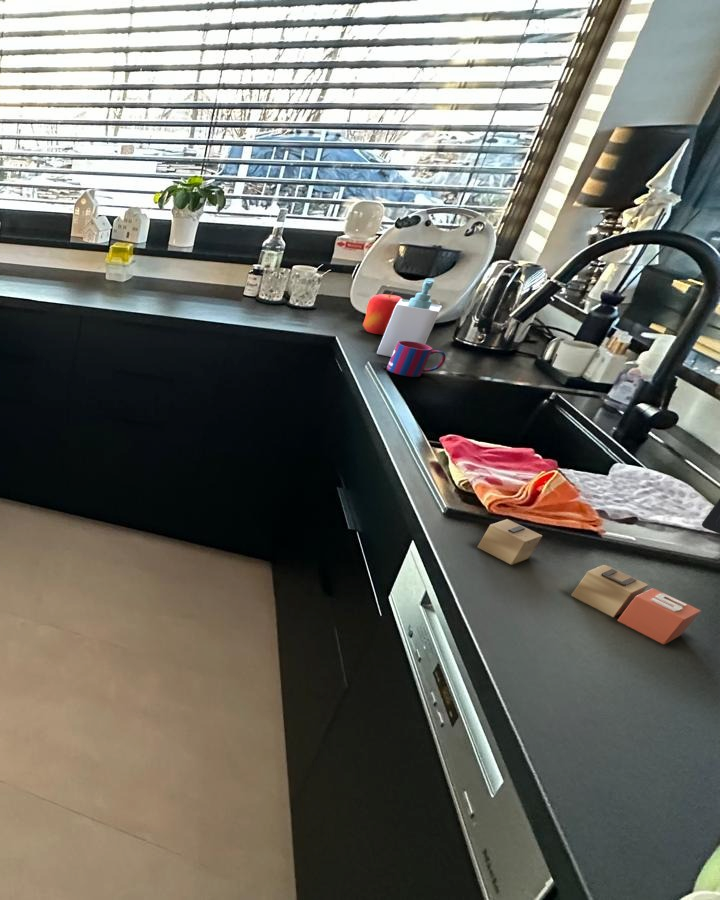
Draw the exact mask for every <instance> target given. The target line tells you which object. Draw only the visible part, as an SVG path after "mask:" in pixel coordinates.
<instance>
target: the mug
mask: <svg viewBox="0 0 720 900" xmlns="http://www.w3.org/2000/svg"><path fill="white" fill-rule="evenodd" d="M438 353H439V354H441V360H440V362H439V363H438V364H437V365H436V366H433V367H431V368H425V367H426V364H427V362H428V360H429V358H430V356H431V355H433V354H438ZM446 357H447V356H446V353H445V352H444V351H442V350H438V349H433V347H432V346H430V345H428V344H426V343H425V344H422V343H417V342H412V341H398V342H397V345H396V347H395V349H394V352H393V354H392V357H390V359H389V361H388V364H387V366H386V370H387V371H388V372H390V373H393V374H396V375H399V376H404V377H409V378H418V377H419V378H420V377H421V375H422V374H423V373H427V372H433V371H436V370H438V369H440V368H441V367H442V366H443V365H444V363H445V362H446Z"/></svg>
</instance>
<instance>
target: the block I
mask: <svg viewBox="0 0 720 900" xmlns="http://www.w3.org/2000/svg"><path fill="white" fill-rule="evenodd" d="M542 538H543V535H542V534H540V533H538V532H536V531H534V530H531V528H528V527H525V526H523V525H521V524H519V523H517V522H515V521H512V520H511V519H508V518H506V519H503V520H500V521H498V522H495V523H491V524H489V526H488V527H487V530H486V531H485V533H484V535H483V537H482V538H481V539H480V542H479V543H478V545H477V548H478V549H479V550H481V551H484V552H485V553H487V554H490V555H491V556H493V557H495V558H496V559H499V560H501V561H502V562H505V563H506V564H509V565H511V566H513V565H515V564H518V563H520V562H524V561H525V560H528V559H529V558H530V557H531V555H532V554H533V552H534V550H535V549H536V547H537V545H538V544H539V542H540V541H541V539H542Z"/></svg>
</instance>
